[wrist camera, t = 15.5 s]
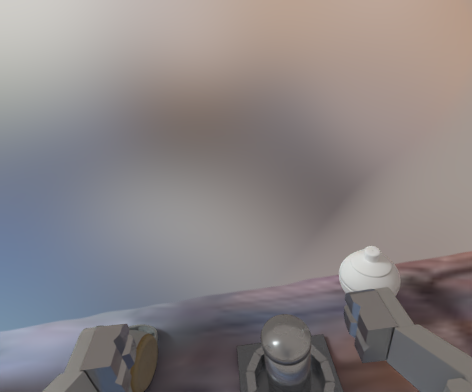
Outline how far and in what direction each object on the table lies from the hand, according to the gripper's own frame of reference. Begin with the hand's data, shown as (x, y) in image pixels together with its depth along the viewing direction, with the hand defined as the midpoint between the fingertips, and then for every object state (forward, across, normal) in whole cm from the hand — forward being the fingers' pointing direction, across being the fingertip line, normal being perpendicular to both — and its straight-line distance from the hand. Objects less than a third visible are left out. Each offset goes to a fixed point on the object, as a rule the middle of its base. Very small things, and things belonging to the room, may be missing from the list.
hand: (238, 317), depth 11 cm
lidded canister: (+12, -4, +29) cm, 32 cm away
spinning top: (+21, -17, +30) cm, 41 cm away
